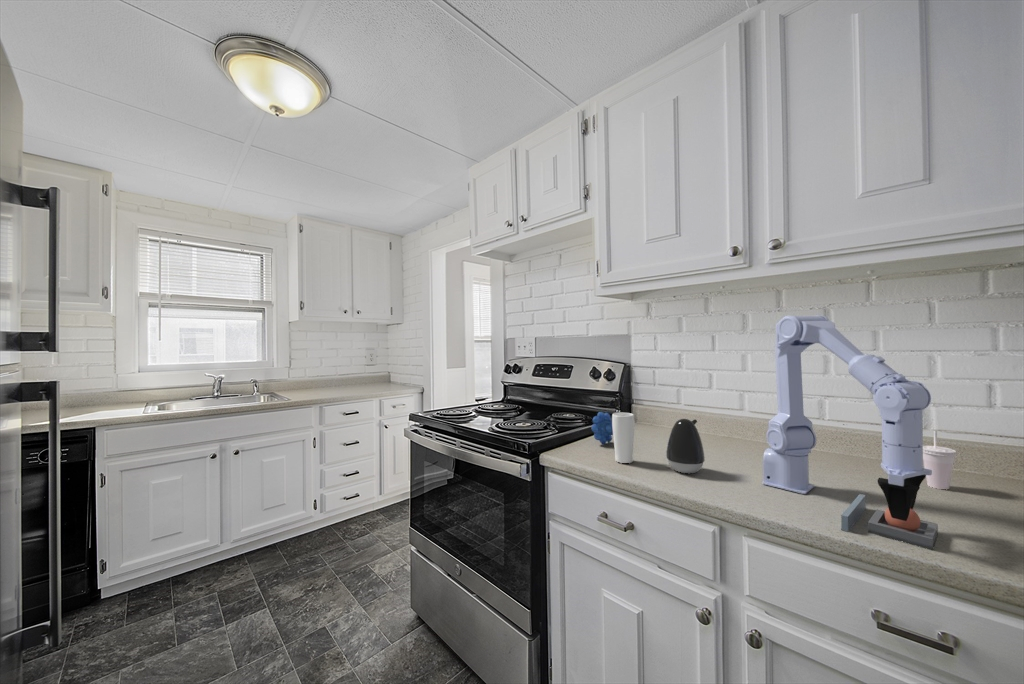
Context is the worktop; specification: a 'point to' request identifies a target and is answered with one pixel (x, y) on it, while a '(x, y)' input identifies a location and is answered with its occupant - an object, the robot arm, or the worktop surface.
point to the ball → (909, 525)
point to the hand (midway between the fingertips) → (902, 512)
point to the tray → (904, 531)
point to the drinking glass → (623, 436)
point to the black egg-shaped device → (685, 447)
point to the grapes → (602, 427)
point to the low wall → (853, 512)
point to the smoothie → (938, 464)
